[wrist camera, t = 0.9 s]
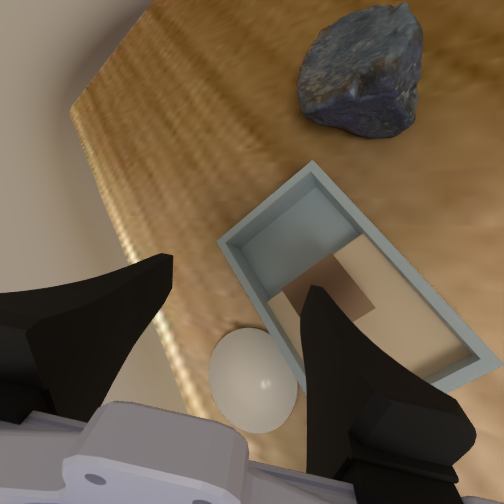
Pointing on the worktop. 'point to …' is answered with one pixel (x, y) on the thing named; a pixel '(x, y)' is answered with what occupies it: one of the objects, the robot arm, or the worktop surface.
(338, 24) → the rock
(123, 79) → the worktop surface
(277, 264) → the caddy
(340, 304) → the block
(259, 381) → the coaster
